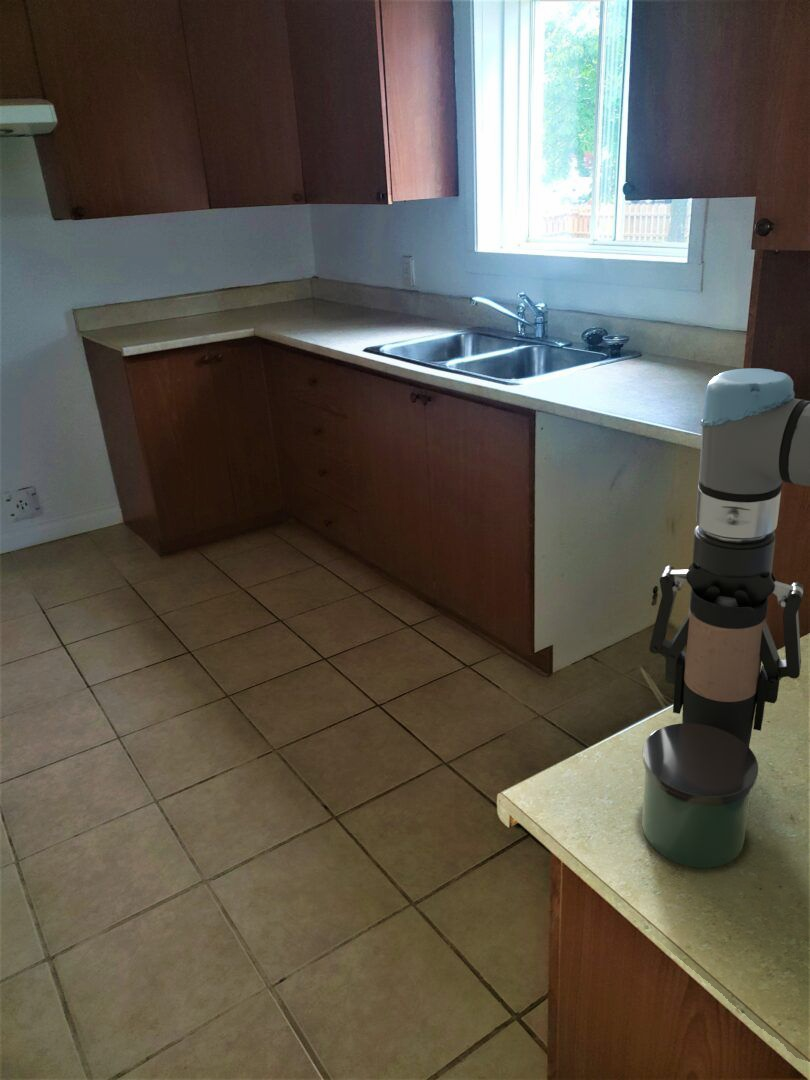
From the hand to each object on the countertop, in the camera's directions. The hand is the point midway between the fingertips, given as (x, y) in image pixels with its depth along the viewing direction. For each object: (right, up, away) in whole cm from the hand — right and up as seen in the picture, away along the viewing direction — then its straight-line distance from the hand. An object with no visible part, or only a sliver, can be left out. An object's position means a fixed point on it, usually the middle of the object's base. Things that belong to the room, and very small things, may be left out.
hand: (717, 714), depth 91 cm
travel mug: (0, -4, +2) cm, 4 cm away
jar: (-5, -11, -6) cm, 13 cm away
